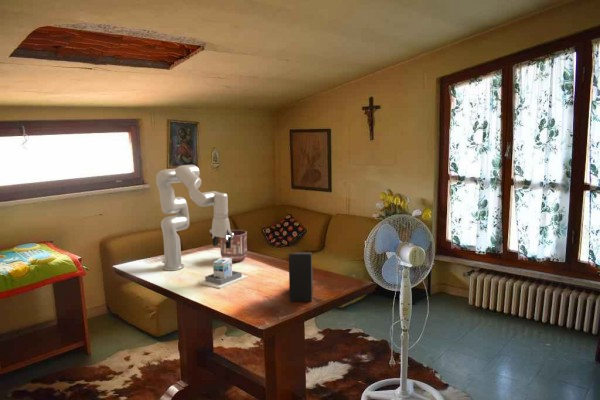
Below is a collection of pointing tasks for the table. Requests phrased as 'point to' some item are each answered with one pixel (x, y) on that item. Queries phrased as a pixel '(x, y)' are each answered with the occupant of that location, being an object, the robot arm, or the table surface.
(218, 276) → the light bulb box
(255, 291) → the table surface
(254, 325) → the table surface
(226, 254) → the pottery
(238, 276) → the dock board
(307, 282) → the bookend
